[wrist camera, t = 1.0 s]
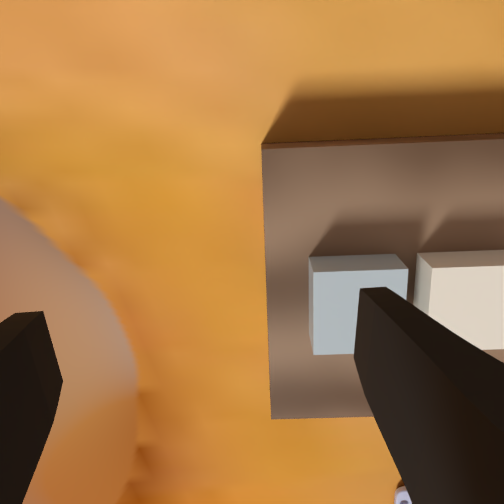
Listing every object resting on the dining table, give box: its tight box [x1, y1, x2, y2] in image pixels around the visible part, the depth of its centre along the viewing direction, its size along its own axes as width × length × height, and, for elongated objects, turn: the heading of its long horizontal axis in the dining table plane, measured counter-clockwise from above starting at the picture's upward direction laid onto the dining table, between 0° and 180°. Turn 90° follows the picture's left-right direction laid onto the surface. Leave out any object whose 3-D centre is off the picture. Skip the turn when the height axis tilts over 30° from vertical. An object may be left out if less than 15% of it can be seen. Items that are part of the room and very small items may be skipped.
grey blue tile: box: [309, 254, 408, 355], centre depth 21 cm, size 4×4×2 cm
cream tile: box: [413, 250, 504, 350], centre depth 21 cm, size 4×4×2 cm
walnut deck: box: [261, 133, 504, 419], centre depth 23 cm, size 14×13×2 cm
